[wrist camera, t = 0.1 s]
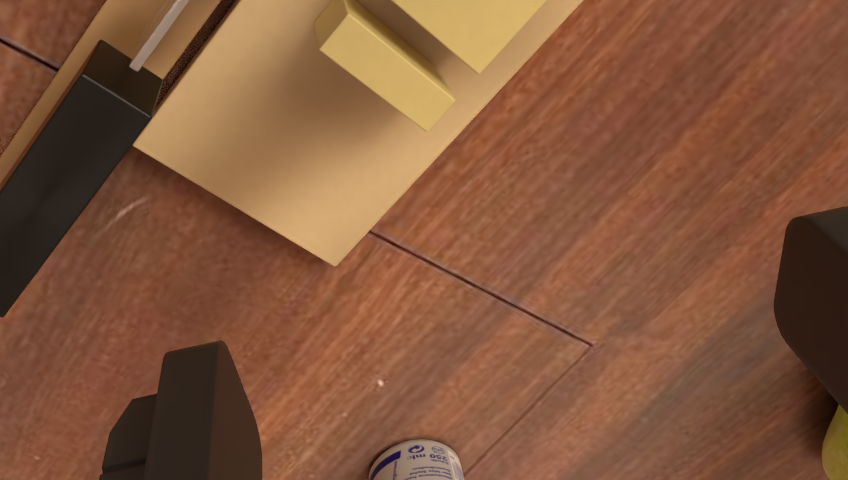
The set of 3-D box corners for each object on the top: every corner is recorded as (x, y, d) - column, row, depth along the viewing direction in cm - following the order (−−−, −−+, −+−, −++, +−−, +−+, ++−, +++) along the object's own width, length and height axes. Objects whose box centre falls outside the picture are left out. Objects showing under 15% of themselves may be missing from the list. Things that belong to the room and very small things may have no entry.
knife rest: (-14, 177, 30) (-55, 240, 26) (331, -335, 23) (344, -349, 19) (59, 215, 31) (30, 281, 28) (405, -256, 24) (430, -255, 21)
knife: (37, 242, 29) (2, 319, 25) (-22, 213, 28) (-68, 288, 24) (388, -236, 22) (412, -230, 18) (328, -298, 21) (341, -306, 17)
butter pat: (313, 22, 28) (318, 50, 25) (340, -12, 27) (348, 13, 25) (413, 100, 30) (426, 133, 28) (440, 70, 30) (456, 100, 27)
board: (135, 134, 30) (131, 146, 29) (479, -328, 24) (487, -330, 23) (333, 255, 35) (335, 268, 34) (664, -103, 29) (676, -99, 28)
